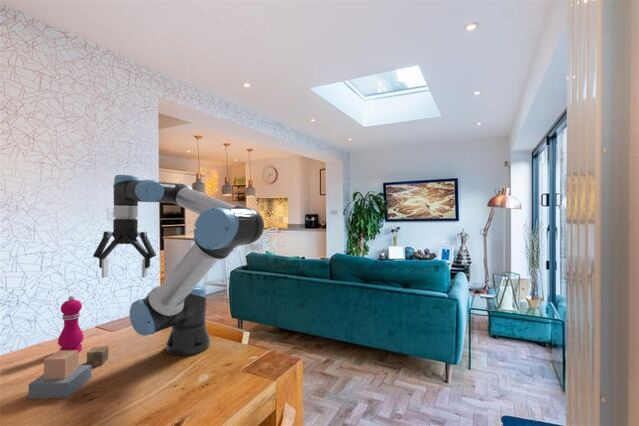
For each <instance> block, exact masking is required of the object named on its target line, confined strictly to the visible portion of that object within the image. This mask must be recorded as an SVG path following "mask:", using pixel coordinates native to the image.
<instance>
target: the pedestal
mask: <svg viewBox="0 0 639 426" xmlns="http://www.w3.org/2000/svg"><path fill="white" fill-rule="evenodd" d="M92 367H93V366H92V365H87V364H81V365H79V364H78V369H77V370H76V371H75V372H73V373H72V374H71V375H69V376H68V377H67V378H65V379H44V373H43V374H42V375H40V376H38V377H37V378H36V379H34V380H33V381H31V382H29V383H28V400H29V399H30V400H33V399H38V400H39V399H59V398H60V399H62V398H63V399H64V398H67V399H68V398H70V397H71V396H72V395H73V394H74V393H76V392H77V391H78V390H79V389H80V388H81V387H83V385H84V386H85V384H86V383H88V382H89V381H90V380H92Z"/></svg>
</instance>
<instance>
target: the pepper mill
mask: <svg viewBox="0 0 639 426" xmlns="http://www.w3.org/2000/svg"><path fill="white" fill-rule="evenodd" d="M82 308H83V304H82V302H81V301H80V300H78V299H76V298H75V296H74V295H69V296H68V300H66V301H64V302H63V303H62V304H61V306H60V312H61V313H62V318H61V319H62V320H63V327H62V330H61V333H60V334H59V336H58V338H57V344H58V346H60V347H59V351H68V350H78V353H80V352H82V350H83V344H82V342H83V340H84V332H83V330H82V329H81V327H80V325H79V324H80V323H79V318H80V317H81V312H80V311H81V310H82Z"/></svg>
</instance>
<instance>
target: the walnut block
mask: <svg viewBox="0 0 639 426" xmlns="http://www.w3.org/2000/svg"><path fill="white" fill-rule="evenodd" d="M108 360H109V345H107V346H106V345H105V346H104V345H103V346H93V347H92V348H90V349H89V350H88V351H87V352H86V365H92V367H94V366H95V367H97V366H99V367H100V366H103V365H104V364H105V363H106V362H107V361H108Z"/></svg>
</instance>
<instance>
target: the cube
mask: <svg viewBox="0 0 639 426" xmlns="http://www.w3.org/2000/svg"><path fill="white" fill-rule="evenodd" d="M78 365H79V352H78V350H68V351H60V350H57V351H56V352H54V353H52V354H51V355H49V356H48V357H46V358H44V359H43V374H44V379H65V378H67V377H68V376H69V375H71V374H72V373H73V372H75V371H76V370H77V369H78Z"/></svg>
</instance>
